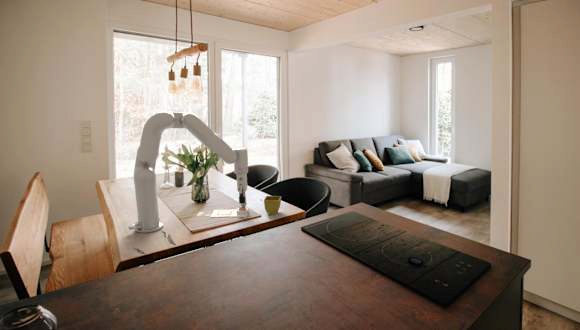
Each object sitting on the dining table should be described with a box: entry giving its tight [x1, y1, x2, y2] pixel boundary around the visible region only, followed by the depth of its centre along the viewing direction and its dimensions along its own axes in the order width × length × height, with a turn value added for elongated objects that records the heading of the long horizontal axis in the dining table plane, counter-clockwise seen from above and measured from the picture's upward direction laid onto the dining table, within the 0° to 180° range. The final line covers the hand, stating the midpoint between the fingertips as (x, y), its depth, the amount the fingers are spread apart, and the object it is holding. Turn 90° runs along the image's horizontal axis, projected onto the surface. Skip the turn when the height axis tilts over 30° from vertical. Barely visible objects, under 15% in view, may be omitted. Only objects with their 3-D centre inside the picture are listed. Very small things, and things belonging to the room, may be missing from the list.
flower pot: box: [263, 195, 282, 215], centre depth 178 cm, size 9×9×9 cm
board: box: [209, 206, 249, 218], centre depth 177 cm, size 20×12×3 cm, turn 93°
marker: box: [240, 190, 248, 208], centre depth 176 cm, size 4×4×11 cm
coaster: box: [196, 211, 212, 217], centre depth 177 cm, size 7×7×1 cm
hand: (242, 201), depth 177 cm, fingers closed on marker, 3 cm apart
